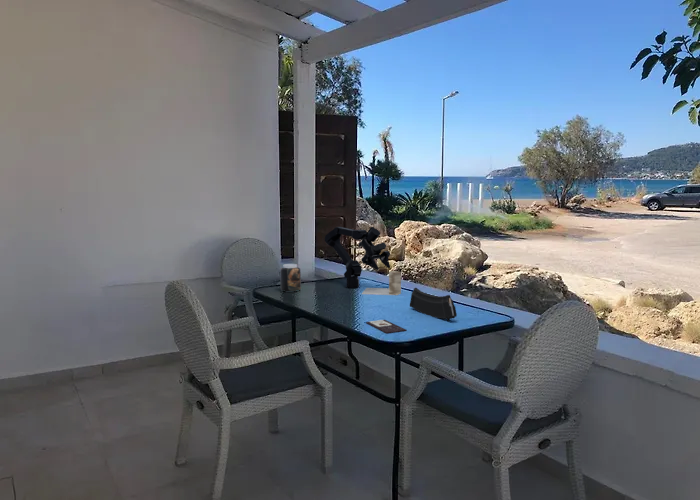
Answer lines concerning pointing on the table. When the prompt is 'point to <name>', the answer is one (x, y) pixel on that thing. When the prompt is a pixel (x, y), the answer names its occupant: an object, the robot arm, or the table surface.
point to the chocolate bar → (386, 326)
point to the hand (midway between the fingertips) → (384, 268)
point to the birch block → (394, 282)
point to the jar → (290, 277)
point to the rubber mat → (377, 291)
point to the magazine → (433, 305)
